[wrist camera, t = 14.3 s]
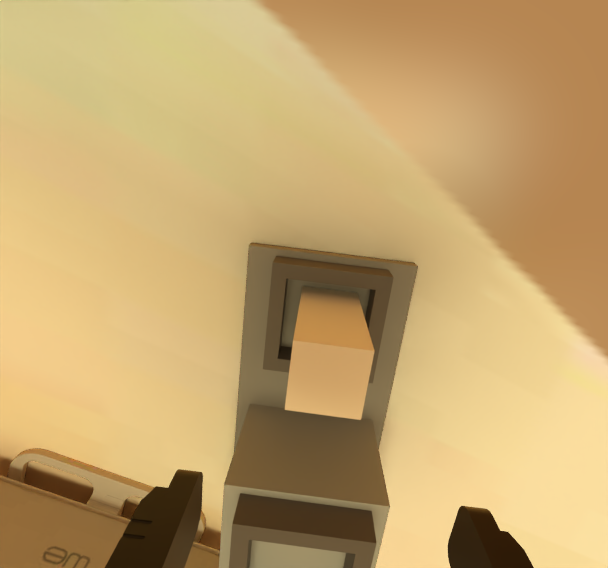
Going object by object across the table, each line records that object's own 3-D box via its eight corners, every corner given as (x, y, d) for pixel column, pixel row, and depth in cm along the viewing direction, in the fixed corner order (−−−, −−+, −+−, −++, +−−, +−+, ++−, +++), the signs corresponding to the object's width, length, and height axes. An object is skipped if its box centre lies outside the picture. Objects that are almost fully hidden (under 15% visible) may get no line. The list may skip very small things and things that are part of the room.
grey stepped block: (251, 242, 26) (204, 287, 16) (414, 263, 26) (475, 321, 16) (233, 479, 33) (192, 622, 22) (364, 497, 33) (384, 649, 22)
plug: (302, 286, 26) (293, 340, 18) (357, 293, 26) (374, 351, 18) (295, 345, 28) (282, 422, 19) (347, 352, 28) (358, 432, 19)
